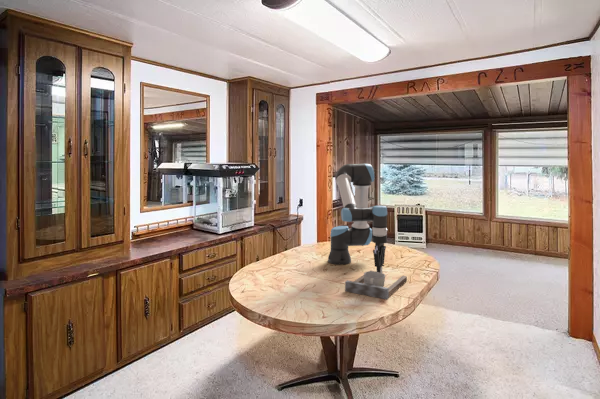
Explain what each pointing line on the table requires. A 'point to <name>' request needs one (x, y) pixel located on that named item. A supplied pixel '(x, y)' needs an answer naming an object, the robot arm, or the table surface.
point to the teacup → (374, 278)
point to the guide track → (373, 288)
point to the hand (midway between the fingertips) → (379, 278)
